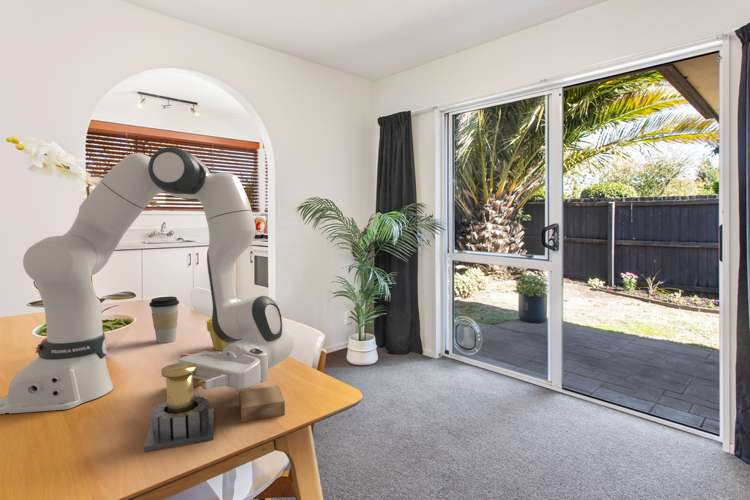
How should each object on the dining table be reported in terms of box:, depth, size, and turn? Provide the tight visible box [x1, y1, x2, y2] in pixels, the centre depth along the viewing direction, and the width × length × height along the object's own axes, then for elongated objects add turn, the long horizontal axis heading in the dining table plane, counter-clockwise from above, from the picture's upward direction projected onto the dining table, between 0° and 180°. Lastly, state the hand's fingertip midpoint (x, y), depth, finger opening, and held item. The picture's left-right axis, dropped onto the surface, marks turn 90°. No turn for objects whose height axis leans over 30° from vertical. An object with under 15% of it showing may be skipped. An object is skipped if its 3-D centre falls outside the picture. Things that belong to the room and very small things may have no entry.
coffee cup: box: [149, 296, 180, 344], centre depth 147 cm, size 9×9×15 cm
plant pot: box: [206, 317, 229, 351], centre depth 139 cm, size 10×10×10 cm
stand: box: [238, 385, 286, 422], centre depth 94 cm, size 9×9×3 cm
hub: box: [143, 395, 215, 453], centre depth 85 cm, size 12×12×5 cm
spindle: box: [160, 362, 197, 414], centre depth 85 cm, size 6×6×12 cm
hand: (188, 381), depth 86 cm, fingers open, 8 cm apart
